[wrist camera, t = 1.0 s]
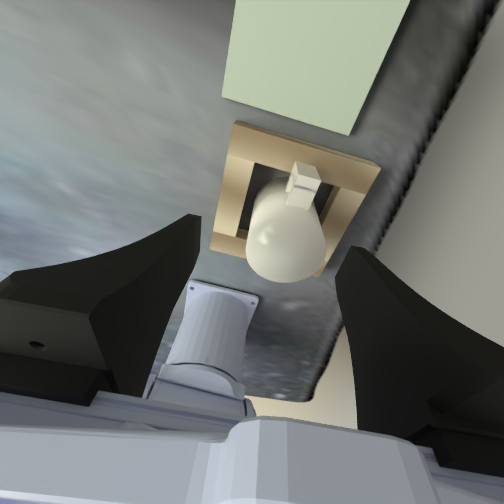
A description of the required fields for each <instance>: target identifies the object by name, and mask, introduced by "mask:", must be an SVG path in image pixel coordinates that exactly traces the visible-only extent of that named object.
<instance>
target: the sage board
mask: <svg viewBox="0 0 504 504" xmlns="http://www.w3.org/2000/svg"><path fill="white" fill-rule="evenodd" d="M409 2H410V0H236V5H235V12H234V18H233V25H232V31H231V38H230V44H229V51H228V57H227V64H226V70H225V77H224V84H223V90H222V97H225V98H228V99H231V100H234V101H238V102H241V103H244V104H247V105H250V106H254V107H257V108H260V109H263V110H267V111H270V112H273V113H276V114H279V115H283V116H286V117H289V118H292V119H296V120H299V121H302V122H305V123H309V124H312V125H315V126H318V127H321V128H325V129H328V130H331V131H334V132H338V133H341V134H344V135H347V136H349V134H350V131H351V129H352V127H353V125H354V123H355V120H356V118H357V116H358V114H359V112H360V110H361V107H362V105H363V103H364V101H365V99H366V96H367V94H368V92H369V90H370V88H371V85H372V83H373V81H374V79H375V77H376V74H377V72H378V70H379V68H380V66H381V63H382V61H383V59H384V57H385V55H386V53H387V50H388V48H389V46H390V44H391V42H392V39H393V37H394V35H395V33H396V31H397V28H398V26H399V24H400V22H401V20H402V17H403V15H404V13H405V11H406V9H407V6H408V4H409Z"/></svg>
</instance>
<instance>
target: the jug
mask: <svg viewBox="0 0 504 504" xmlns="http://www.w3.org/2000/svg"><path fill="white" fill-rule="evenodd" d="M320 183H321V179H320V177H319V174H318V172H317V170H316V167H315V166H311V165H308V164H305V163H301V162H298V161H295V163H294V166H293V169H292V172H291V174H290V177H278V178H275V179H272V180H270V181H268V182H266V183H265V184H264V185H263V186H262V187H261V188H260V189H259V191H258V193H257V194H256V197H255V201H254V207H253V212H252V217H251V222H250V228H249V233H248V238H247V243H246V257H247V260H248V263H249V265H250V266H251V268H252V269H253V270H254V271H255V272H256V273H257V274H259V275H260V276H262V277H264V278H266V279H268V280H271V281H274V282H281V283H290V282H296V281H300V280H303V279H305V278H307V277H309V276H311V275H312V274H314V273H315V272H316V271H317V270H318V269H319V268H320V267H321V265H322V264H323V262H324V260H325V257H326V251H327V247H326V242H325V238H324V235H323V231H322V228H321V225H320V221H319V218H318V215H317V211H316V208H315V204H314V201H313V199H314V197H315V194H316V192H317V190H318V187H319V185H320Z"/></svg>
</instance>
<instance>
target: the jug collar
mask: <svg viewBox="0 0 504 504" xmlns="http://www.w3.org/2000/svg"><path fill="white" fill-rule="evenodd" d="M295 161H298V162H301V163H305V164H308V165H311V166H315V167H316V170H317V172H318V174H319V177H320V179H321V182H324V183H328V184H331V185H334V187H333V189H332V191H331V193H330V195H329V197H328V199H327V201H326V203H325V205H324V208H323V210H322V212H321V214H320V216H319V221H320V225H321V228H322V231H323V235H324V238H325V242H326V247H327V251H326V257H325V260H324V262H323V264H322V265H321V267H320V268H319V269H318V270H317V271H316V272H315V273H314V274H312V275H311V276H315V277H319V276H320V274H321V273H322V271H323V269H324V267H325V266H326V264H327V262H328V260H329V259H330V257H331V255H332V253H333V252H334V250H335V248H336V246H337V245H338V243H339V241H340V239H341V238H342V236H343V234H344V232H345V231H346V229H347V227H348V225H349V224H350V222H351V220H352V218H353V217H354V215H355V213H356V212H357V210H358V208H359V206H360V205H361V203H362V201H363V199H364V198H365V196H366V194H367V192H368V191H369V189H370V187H371V185H372V184H373V182H374V180H375V178H376V177H377V175H378V173H379V171H380V170H381V168H380V167H379V166H378V165H377V164H375V163H374V162H372V161H369V160H365V159H362V158H359V157H355V156H352V155H349V154H345V153H342V152H339V151H336V150H332V149H329V148H326V147H322V146H319V145H316V144H313V143H309V142H306V141H303V140H299V139H296V138H293V137H289V136H286V135H283V134H280V133H276V132H273V131H270V130H266V129H263V128H260V127H256V126H253V125H250V124H247V123H243V122H240V121H237V120H236V121H235V122H234V123H233V127H232V133H231V138H230V143H229V149H228V154H227V159H226V164H225V170H224V175H223V180H222V186H221V191H220V196H219V202H218V207H217V212H216V218H215V223H214V228H213V234H212V239H211V244H210V249H211V250H215V251H218V252H222V253H226V254H230V255H234V256H238V257H242V258H246V259H247V257H246V243H247V238H248V233H249V231H247V230H243V229H240V228H238V225H239V221H240V217H241V213H242V210H243V206H244V202H245V198H246V194H247V190H248V186H249V182H250V179H251V175H252V171H253V167H254V163H259V164H262V165H266V166H269V167H273V168H276V169H280V170H283V171H286V172H290V173H291V172H292V169H293V166H294V163H295Z"/></svg>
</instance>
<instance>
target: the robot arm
mask: <svg viewBox="0 0 504 504" xmlns="http://www.w3.org/2000/svg"><path fill="white" fill-rule="evenodd" d="M200 235H201V216H197V215H192V214H187V215H185V216H184V217H182V218H180V219H179V220H177V221H175V222H173V223H172V224H170V225H168V226H167V227H165V228H163V229H161V230H159V231H157V232H155V233H153V234H151V235H149V236H147V237H145V238H143V239H141V240H139V241H137V242H134V243H132V244H129V245H127V246H124V247H122V248H119V249H116V250H113V251H109V252H106V253H103V254H100V255H96V256H93V257H89V258H85V259H81V260H77V261H72V262H68V263H63V264H58V265H53V266H46V267H40V268H34V269H28V270H21V271H15V272H13V273H12V274H11V275H9V276H8V277H7V278H5V279H4V280H2V281H1V282H0V504H504V347H502V346H501V345H499V344H497V343H495V342H493V341H491V340H489V339H487V338H486V337H484V336H482V335H480V334H479V333H477V332H475V331H473V330H472V329H470V328H468V327H466V326H465V325H463V324H462V323H460V322H458V321H457V320H455V319H453V318H452V317H450V316H449V315H447V314H446V313H444V312H443V311H441V310H440V309H438V308H437V307H435V306H434V305H432V304H431V303H430V302H428V301H427V300H426V299H424V298H423V297H421V296H420V295H419V294H418V293H416V292H415V291H414V290H413V289H411V288H410V287H409V286H408V285H406V284H405V283H404V282H403V281H402V280H401V279H399V278H398V277H397V276H396V275H395V274H394V273H393V272H391V271H390V270H389V269H388V268H387V267H386V266H385V265H384V264H382V263H381V262H380V261H379V260H378V259H377V258H376V257H375V256H373V255H372V254H371V253H370V252H369V251H367V250H366V249H364V248H361V247H356V246H351V247H350V249H349V251H348V253H347V255H346V257H345V259H344V261H343V263H342V265H341V267H340V268H339V270H338V272H337V274H336V276H335V282H336V292H337V298H338V302H339V306H340V310H341V313H342V317H343V321H344V325H345V328H346V332H347V336H348V341H349V345H350V352H351V359H352V366H353V375H354V384H355V395H356V407H357V426H358V430H356V429H350V428H344V427H338V426H332V425H327V424H321V423H315V422H310V421H304V420H298V419H292V418H286V417H274V416H273V417H271V416H258V417H257V416H256V412H255V410H254V407H253V405H252V402H251V400H249V399H247V398H244V395H245V385H243V384H240V381H241V373H242V365H243V356H244V348H245V340H246V332H247V329H248V326H249V324H250V321H251V319H252V316H253V314H254V311H255V309H256V306H257V304H258V301H259V297H258V296H256V295H252V294H248V293H244V292H240V291H236V290H232V289H228V288H224V287H220V286H216V285H212V284H208V283H204V282H199V281H195V280H190V281H189V283H188V289H187V297H186V304H185V311H184V318H183V321H182V323H181V326H180V328H179V331H178V333H177V336H176V338H175V341H174V344H173V346H172V349H171V351H170V354H169V356H168V359H167V361H166V364H163V365H162V368H161V370H160V373H159V375H158V378H157V375H154V374H150V372H151V369H152V366H153V363H154V360H155V357H156V354H157V351H158V348H159V346H160V343H161V340H162V337H163V335H164V332H165V329H166V326H167V324H168V321H169V319H170V316H171V313H172V311H173V309H174V307H175V304H176V302H177V300H178V298H179V296H180V295H181V293H182V291H183V289H184V287H185V285H186V283H187V281H188V279H189V277H190V275H191V273H192V271H193V269H194V266H195V264H196V261H197V258H198V255H199V252H200ZM192 287H194V288H192ZM253 302H254V303H253ZM156 378H157V379H156Z"/></svg>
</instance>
